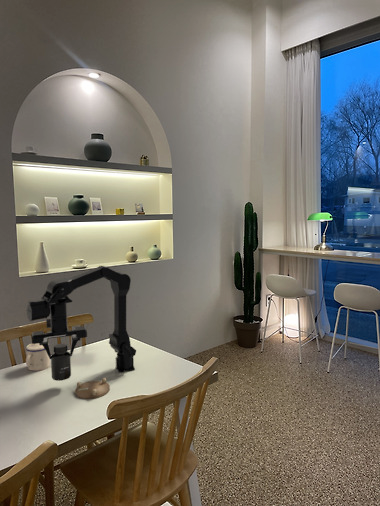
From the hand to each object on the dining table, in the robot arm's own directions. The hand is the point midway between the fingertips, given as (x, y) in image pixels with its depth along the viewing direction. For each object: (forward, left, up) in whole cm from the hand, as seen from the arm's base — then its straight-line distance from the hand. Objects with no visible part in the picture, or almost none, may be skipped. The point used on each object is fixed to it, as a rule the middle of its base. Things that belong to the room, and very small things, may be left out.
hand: (60, 357), depth 143 cm
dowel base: (-10, +7, -12) cm, 17 cm away
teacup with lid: (+9, -22, -12) cm, 26 cm away
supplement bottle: (0, 0, -8) cm, 8 cm away
